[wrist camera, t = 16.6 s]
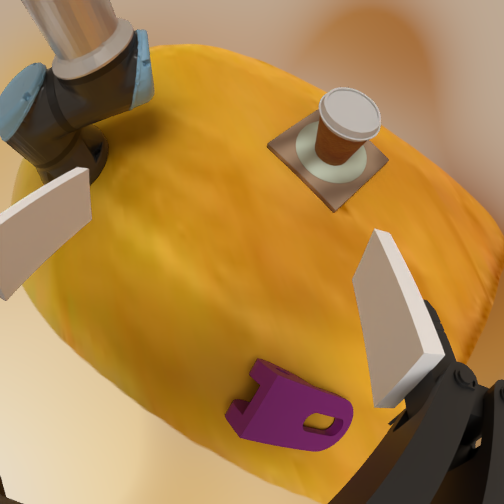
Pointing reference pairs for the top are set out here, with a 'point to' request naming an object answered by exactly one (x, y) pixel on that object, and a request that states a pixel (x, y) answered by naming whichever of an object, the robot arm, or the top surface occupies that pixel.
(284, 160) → the coaster
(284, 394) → the mounting bracket
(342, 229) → the top surface
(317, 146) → the disposable coffee cup
